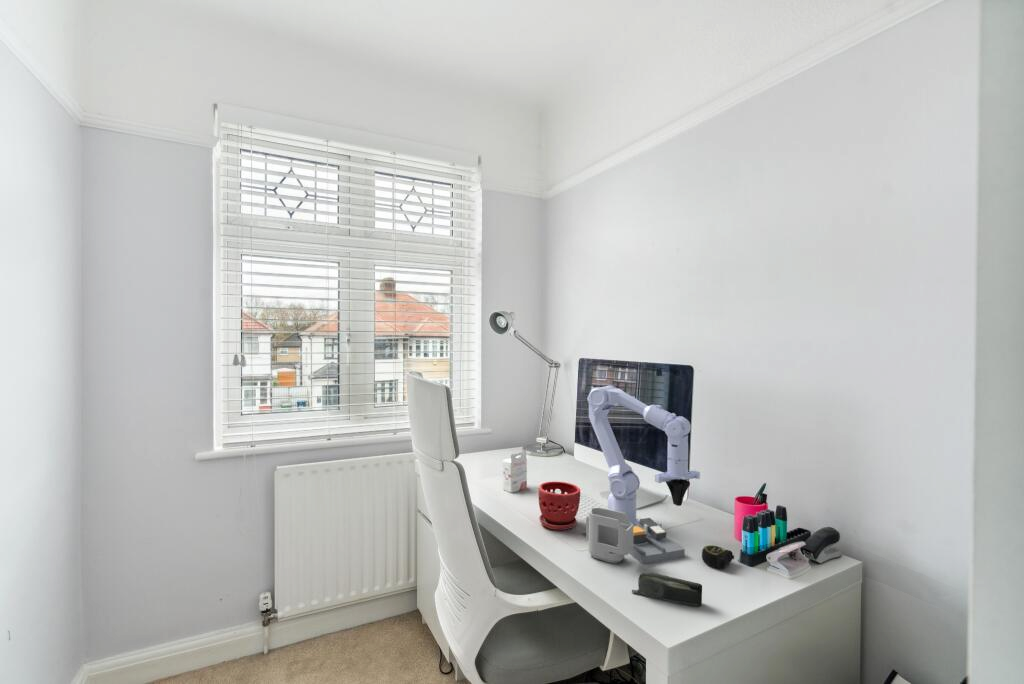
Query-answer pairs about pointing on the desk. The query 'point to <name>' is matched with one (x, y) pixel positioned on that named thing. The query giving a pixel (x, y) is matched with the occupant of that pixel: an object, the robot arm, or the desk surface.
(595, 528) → the grey piece
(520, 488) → the ink cartridge box
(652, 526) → the on rocker
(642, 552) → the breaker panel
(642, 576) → the dark elongated piece
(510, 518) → the desk surface
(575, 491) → the plant pot
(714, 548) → the tape measure
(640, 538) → the block
